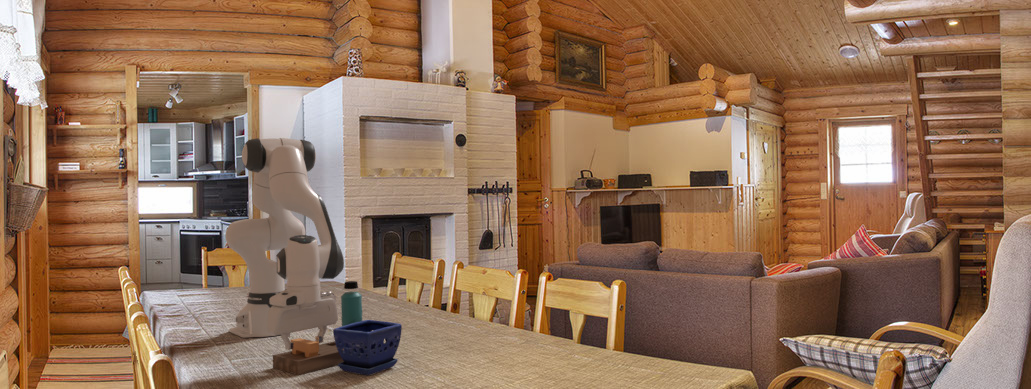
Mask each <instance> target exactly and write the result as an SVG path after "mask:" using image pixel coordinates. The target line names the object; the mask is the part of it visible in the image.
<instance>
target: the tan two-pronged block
mask: <svg viewBox="0 0 1031 389" xmlns="http://www.w3.org/2000/svg"><path fill="white" fill-rule="evenodd" d="M290 342H293V343H294V345H293V346H294V348H293V349H291V351H292V354H295V355H296V354H300V353H305V357H308V358H309V357H314V356H318V352H319V345H320V343H319V342H316V341H315V340H310V339H305V338H300V337H297V338H293V339H290Z"/></svg>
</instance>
